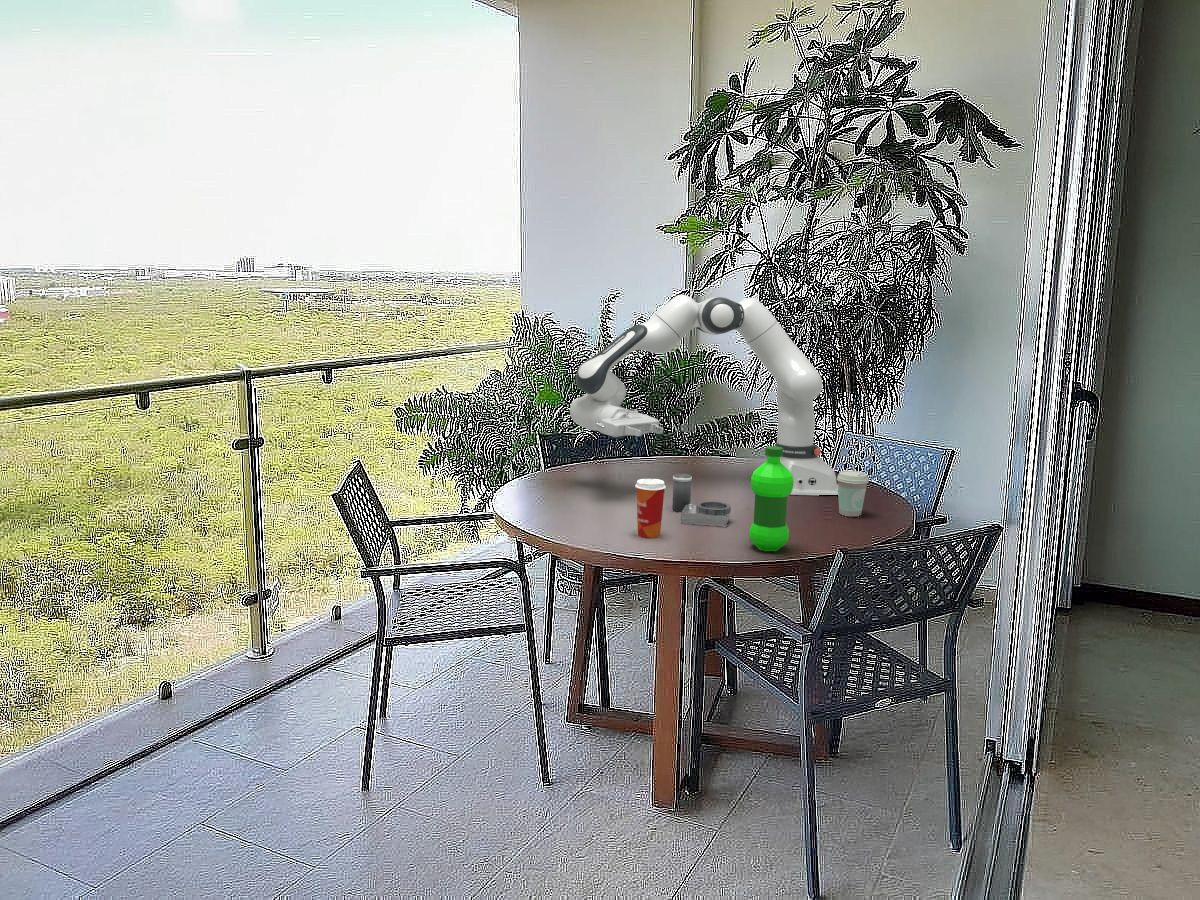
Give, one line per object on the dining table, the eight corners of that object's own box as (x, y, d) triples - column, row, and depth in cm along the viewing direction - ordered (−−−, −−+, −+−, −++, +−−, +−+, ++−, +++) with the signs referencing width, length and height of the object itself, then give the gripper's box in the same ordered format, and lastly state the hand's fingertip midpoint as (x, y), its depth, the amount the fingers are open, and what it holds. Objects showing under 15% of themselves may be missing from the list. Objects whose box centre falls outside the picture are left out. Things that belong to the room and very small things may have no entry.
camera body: (731, 518, 252) (732, 502, 252) (727, 527, 244) (728, 510, 243) (685, 514, 255) (686, 499, 254) (680, 523, 247) (681, 507, 246)
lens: (691, 508, 262) (693, 474, 260) (688, 513, 257) (690, 478, 255) (673, 507, 263) (674, 473, 261) (670, 511, 258) (671, 476, 256)
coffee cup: (848, 520, 253) (852, 477, 251) (827, 513, 261) (830, 471, 258) (872, 517, 257) (875, 475, 255) (851, 510, 265) (854, 469, 262)
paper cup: (632, 530, 239) (633, 477, 236) (661, 530, 239) (663, 477, 237) (635, 539, 231) (637, 485, 228) (666, 539, 232) (668, 485, 229)
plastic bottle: (795, 554, 222) (801, 452, 217) (751, 554, 221) (757, 451, 216) (783, 542, 232) (789, 444, 227) (742, 542, 231) (747, 443, 226)
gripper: (592, 412, 264) (629, 423, 255) (637, 409, 279) (674, 419, 270) (589, 434, 265) (626, 446, 257) (635, 429, 281) (671, 440, 272)
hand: (651, 432), depth 264 cm, fingers open, 8 cm apart
